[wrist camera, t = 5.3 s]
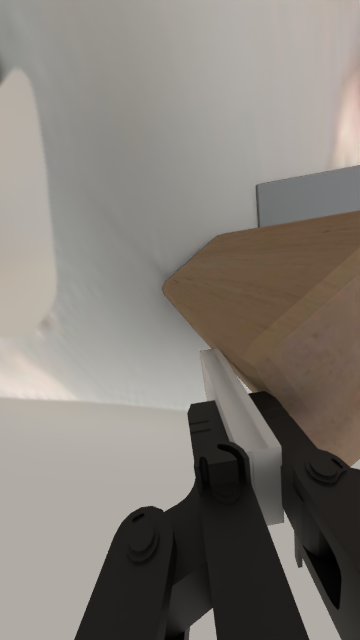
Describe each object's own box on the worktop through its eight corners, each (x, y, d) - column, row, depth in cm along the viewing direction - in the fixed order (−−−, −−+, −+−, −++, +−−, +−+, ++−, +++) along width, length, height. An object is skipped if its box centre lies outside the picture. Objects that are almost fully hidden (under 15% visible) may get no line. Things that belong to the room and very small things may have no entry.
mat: (256, 185, 26) (257, 184, 25) (449, 149, 25) (455, 147, 24) (265, 352, 32) (266, 354, 32) (417, 328, 32) (421, 329, 31)
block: (259, 292, 30) (487, 361, 11) (204, 341, 30) (341, 488, 11) (220, 230, 26) (466, 178, 7) (157, 286, 26) (246, 372, 7)
